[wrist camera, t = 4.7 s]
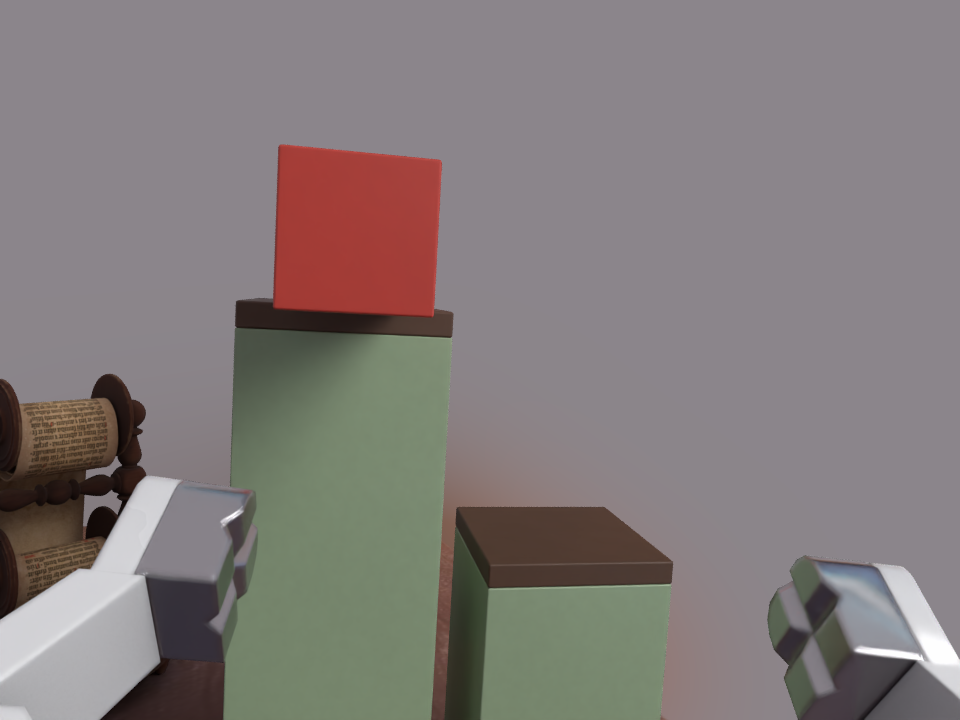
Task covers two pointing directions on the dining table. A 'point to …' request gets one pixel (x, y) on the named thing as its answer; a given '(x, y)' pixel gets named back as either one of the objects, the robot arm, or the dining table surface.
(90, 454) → the scroll
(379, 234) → the red bar
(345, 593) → the step shelf
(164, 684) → the dining table surface
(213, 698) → the dining table surface
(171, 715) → the dining table surface
